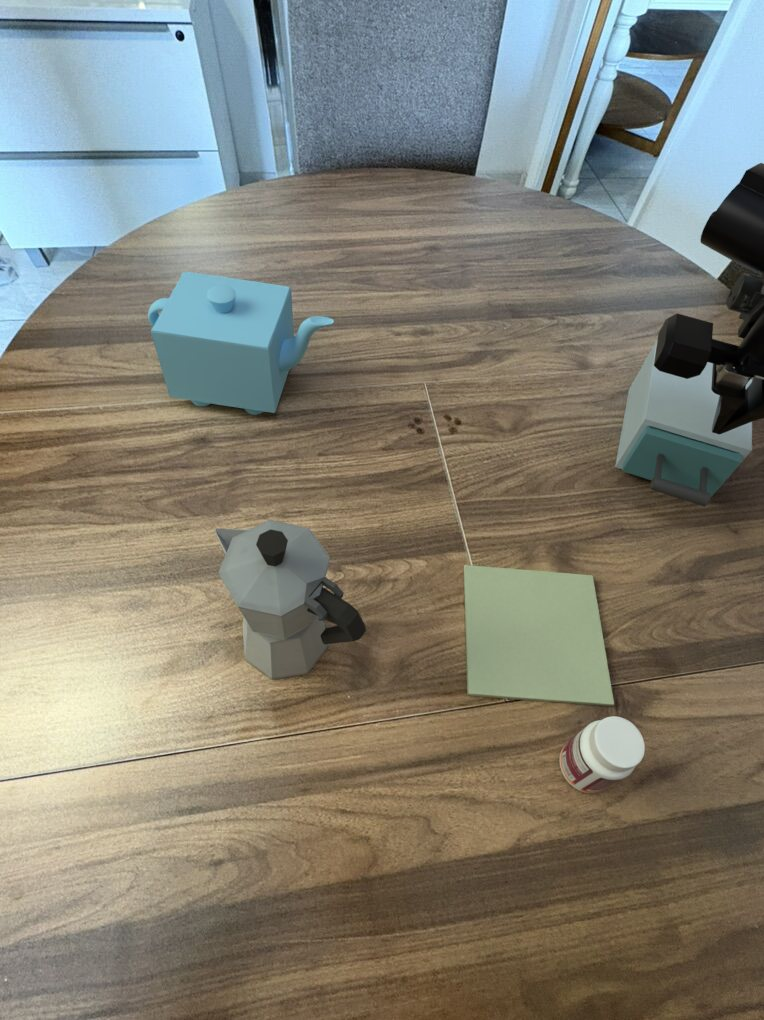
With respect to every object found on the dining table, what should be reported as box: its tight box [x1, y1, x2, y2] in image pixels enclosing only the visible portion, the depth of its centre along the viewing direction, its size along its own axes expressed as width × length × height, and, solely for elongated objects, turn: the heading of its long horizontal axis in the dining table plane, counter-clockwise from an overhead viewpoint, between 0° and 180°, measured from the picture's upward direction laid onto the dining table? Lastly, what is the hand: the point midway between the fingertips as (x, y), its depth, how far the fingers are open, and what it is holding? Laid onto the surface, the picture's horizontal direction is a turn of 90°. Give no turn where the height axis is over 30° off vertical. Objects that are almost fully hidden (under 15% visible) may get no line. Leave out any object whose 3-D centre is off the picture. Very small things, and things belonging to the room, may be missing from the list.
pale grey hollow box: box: [614, 339, 753, 498], centre depth 76 cm, size 15×12×9 cm
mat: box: [463, 564, 615, 707], centre depth 62 cm, size 14×14×1 cm
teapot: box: [147, 270, 335, 416], centre depth 74 cm, size 22×11×14 cm, turn 82°
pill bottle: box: [558, 715, 646, 794], centre depth 52 cm, size 5×5×8 cm
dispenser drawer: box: [621, 426, 743, 507], centre depth 73 cm, size 19×11×7 cm, turn 160°
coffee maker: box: [214, 519, 367, 681], centre depth 53 cm, size 15×9×18 cm, turn 56°
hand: (715, 430), depth 63 cm, fingers closed
